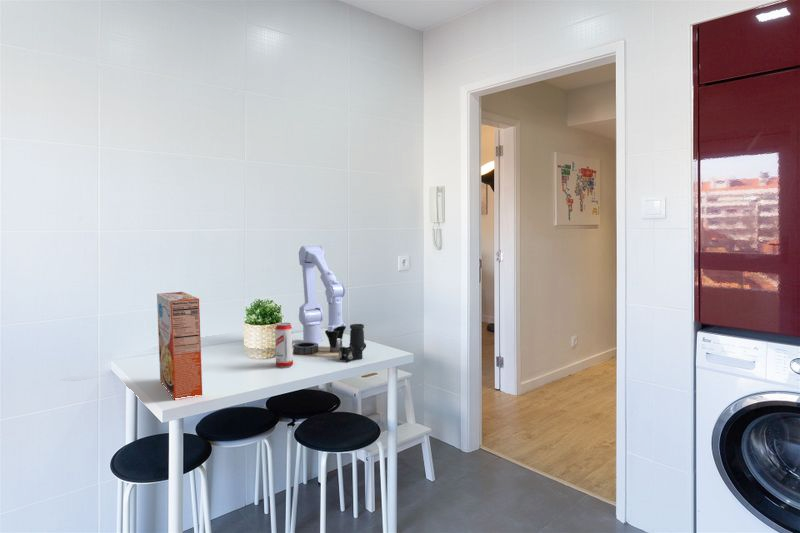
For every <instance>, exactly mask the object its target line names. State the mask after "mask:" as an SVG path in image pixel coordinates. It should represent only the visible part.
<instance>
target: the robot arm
mask: <svg viewBox="0 0 800 533" xmlns="http://www.w3.org/2000/svg"><path fill="white" fill-rule="evenodd" d="M325 255H326V253H325V249H324V247H323V246H322V245H316V246H315V245H314V246H311V245H310V246H309V245H307V246H306V245H305V246H304V245H303V246H301V247H300V248H299V251H298V259H299V261H298V262H299V265H300V266H301V268H302V269H301V270H302V278H303V281H302V282H303V297H304V303H303V304H302V305H301V306H300V307H299V311H298V320H299V323H300V325H302V327H303V328H302V330H303V331H302V333H303V335H302V336H303V337H302V338H303V339H302V340H303V341H302V343H303V342H314V343H317V344H318V345H319V344H320V343H322V342H324V339H322V337H323V336H322V334H323V333H322V331H323V330H322V326H321V324H322V322H323V321H324V311H323V307H322V305H321V304H319V303H318V302H317V294H316V293H317V292H316V282H315V269H314V268H315V267H316V268H317V269H318V271H319V273H320V280H321V281H322V284H323V286H324V289H325V291H324V292H325V296H326V301H327V303H328V304H327V305H328V306H327V310H328V324H327V329H325V331H324V334H325V335H326V337H327V339H328V344H329V347H331V348H336V345H337V338H340V339H342V340H343V337H344V332H345V330H346V328H347V327H346V323H344V320H343V297H344V296H345V295H346V294H345V293H346V288H345V286H344V284H343V283H341V282H339V281H338V279H337V277H336V276H335V273H334V272H333V271H332V270H331V269H330V270H329V267H328V265H327V262H326V259H325Z"/></svg>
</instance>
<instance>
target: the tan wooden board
mask: <svg viewBox="0 0 800 533" xmlns="http://www.w3.org/2000/svg"><path fill="white" fill-rule="evenodd" d="M318 351H319V352H317V353H315V354H311V355H297V354H294V353H293V357H306V358H307V357H308V358H309V357H310V358H312V357H314V358H331V359H332V358H335V359H337V358H338V359H340V358H341V357H339V352H338V353H332V352H330V346H326V345H325V346H320V345H318Z"/></svg>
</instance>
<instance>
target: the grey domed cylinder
mask: <svg viewBox="0 0 800 533" xmlns="http://www.w3.org/2000/svg"><path fill="white" fill-rule="evenodd" d="M340 341H342V342H343V338H342V339H340V338H337V345H336V348H331V347H330V346H329V347H330V352H332V353H338V352H340Z"/></svg>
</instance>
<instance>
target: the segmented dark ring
mask: <svg viewBox="0 0 800 533" xmlns="http://www.w3.org/2000/svg"><path fill="white" fill-rule="evenodd" d="M318 346H319V344H317V343H314V342H303V341H302V342H297V343H294V344H293V353H294V354H297V355H311V354H315V353H317V352H319V351H318Z"/></svg>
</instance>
